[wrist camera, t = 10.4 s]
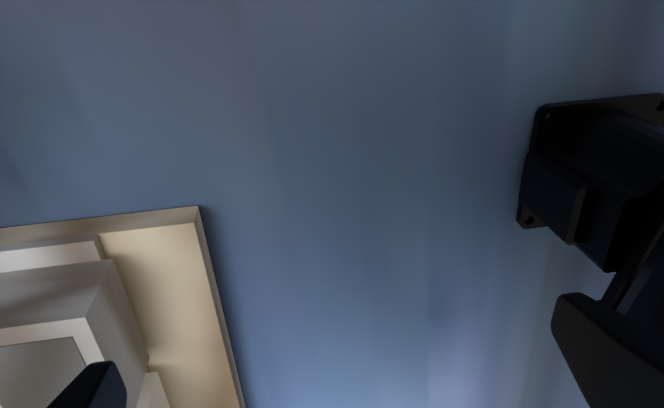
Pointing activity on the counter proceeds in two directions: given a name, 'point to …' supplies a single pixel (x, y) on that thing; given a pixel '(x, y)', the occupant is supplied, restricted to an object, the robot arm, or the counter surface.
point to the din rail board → (166, 298)
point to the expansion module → (152, 393)
